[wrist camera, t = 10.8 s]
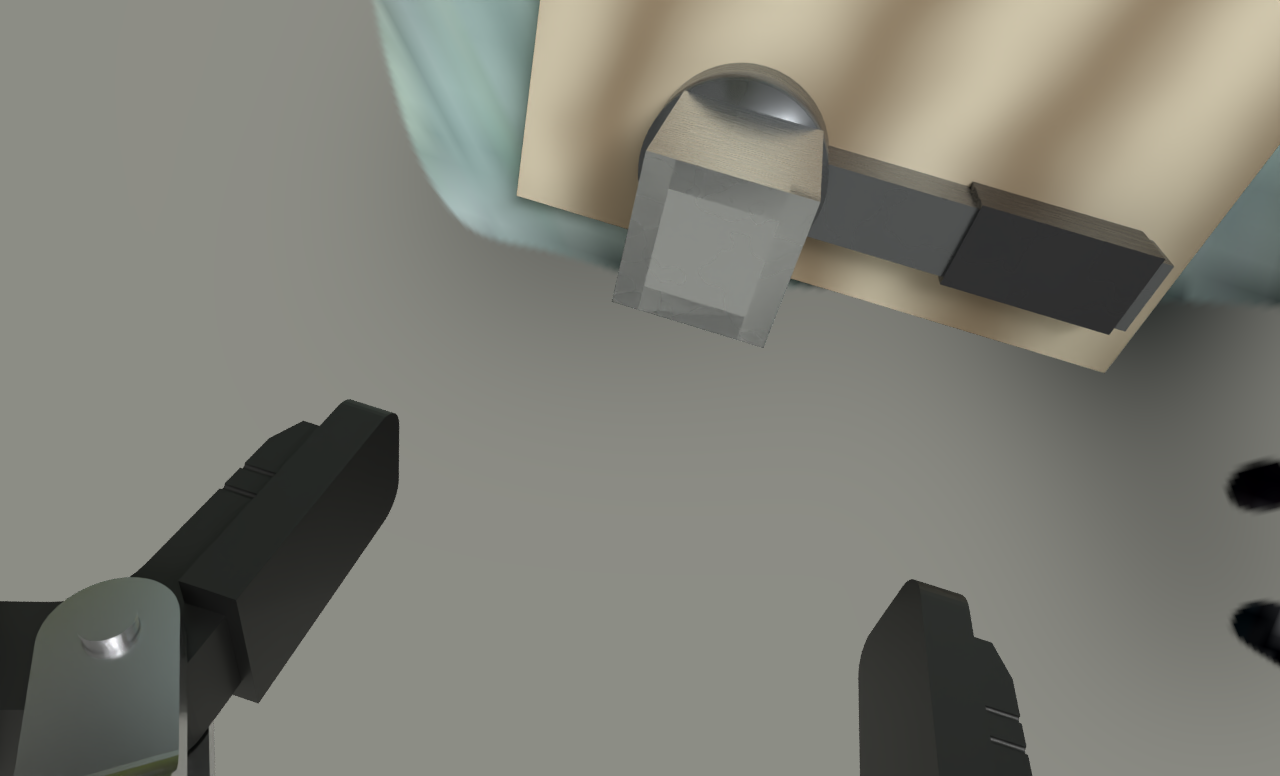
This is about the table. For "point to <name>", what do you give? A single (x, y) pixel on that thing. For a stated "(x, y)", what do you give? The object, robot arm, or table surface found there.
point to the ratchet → (955, 221)
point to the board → (939, 117)
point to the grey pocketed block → (720, 217)
